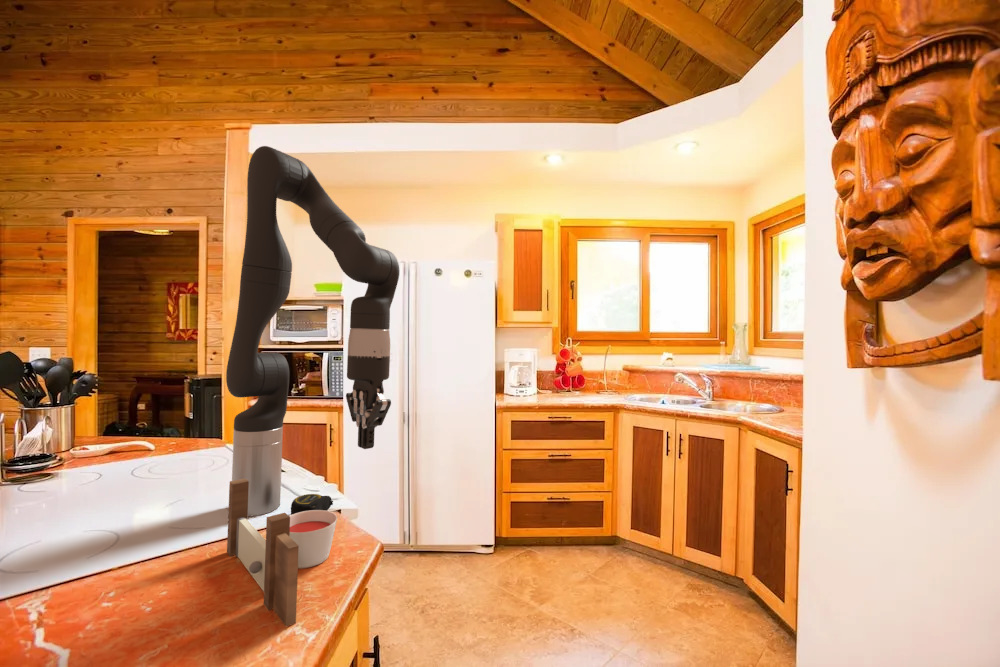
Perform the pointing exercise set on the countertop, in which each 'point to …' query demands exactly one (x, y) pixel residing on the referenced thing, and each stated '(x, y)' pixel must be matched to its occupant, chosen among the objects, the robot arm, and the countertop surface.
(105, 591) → the countertop surface
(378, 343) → the robot arm
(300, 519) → the candle
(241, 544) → the door
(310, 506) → the tape measure
